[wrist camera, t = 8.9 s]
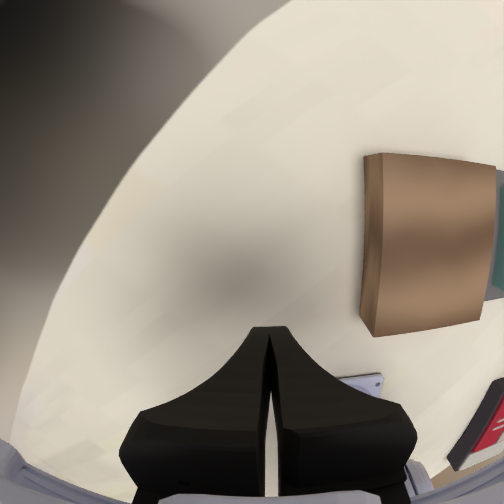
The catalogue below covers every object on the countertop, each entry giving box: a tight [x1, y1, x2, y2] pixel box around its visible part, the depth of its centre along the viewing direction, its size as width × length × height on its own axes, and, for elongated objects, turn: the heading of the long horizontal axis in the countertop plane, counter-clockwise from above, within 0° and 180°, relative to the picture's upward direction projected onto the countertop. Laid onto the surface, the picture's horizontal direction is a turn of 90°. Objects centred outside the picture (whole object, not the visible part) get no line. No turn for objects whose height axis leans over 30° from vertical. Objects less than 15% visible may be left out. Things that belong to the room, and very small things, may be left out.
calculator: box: [447, 378, 504, 471], centre depth 23 cm, size 11×4×15 cm
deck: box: [360, 153, 496, 337], centre depth 18 cm, size 12×10×4 cm
